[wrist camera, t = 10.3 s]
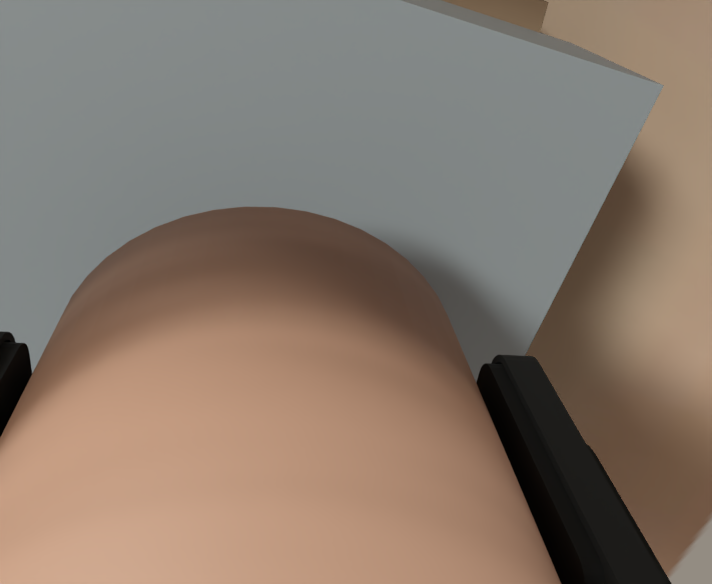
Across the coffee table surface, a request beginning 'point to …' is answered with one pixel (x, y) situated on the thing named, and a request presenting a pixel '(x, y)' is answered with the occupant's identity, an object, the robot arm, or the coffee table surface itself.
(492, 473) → the drum
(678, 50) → the coffee table surface
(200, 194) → the upper slab
